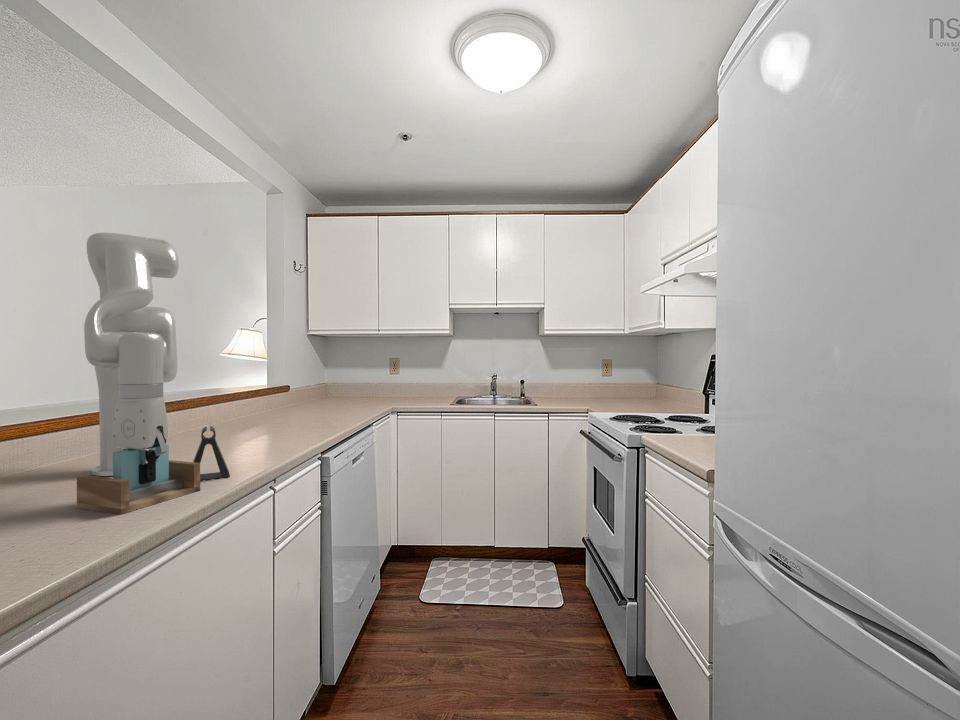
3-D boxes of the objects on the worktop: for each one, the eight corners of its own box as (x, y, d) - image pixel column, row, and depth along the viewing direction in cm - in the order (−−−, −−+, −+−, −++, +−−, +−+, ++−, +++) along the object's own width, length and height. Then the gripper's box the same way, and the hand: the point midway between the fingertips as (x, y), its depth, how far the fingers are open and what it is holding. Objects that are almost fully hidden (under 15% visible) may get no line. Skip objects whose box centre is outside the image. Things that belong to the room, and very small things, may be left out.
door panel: (160, 484, 106) (160, 443, 106) (168, 485, 105) (168, 444, 105) (113, 497, 96) (112, 452, 96) (121, 499, 96) (121, 453, 95)
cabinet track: (159, 485, 110) (159, 459, 110) (200, 490, 107) (200, 462, 107) (76, 507, 94) (76, 476, 94) (121, 514, 91) (120, 482, 90)
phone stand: (229, 472, 123) (229, 425, 123) (229, 477, 118) (229, 428, 118) (187, 476, 119) (187, 427, 119) (186, 482, 113) (186, 430, 113)
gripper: (94, 392, 99) (95, 483, 100) (152, 395, 94) (153, 490, 94) (131, 390, 106) (132, 474, 107) (187, 392, 101) (187, 480, 102)
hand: (142, 481), depth 101 cm, fingers closed on door panel, 2 cm apart
